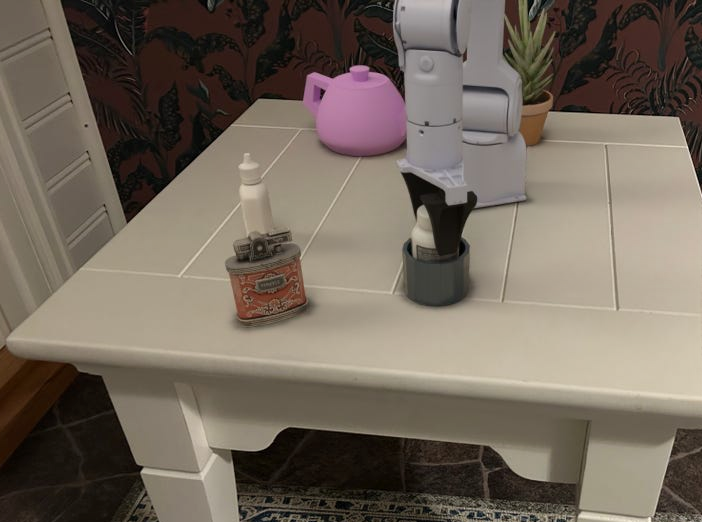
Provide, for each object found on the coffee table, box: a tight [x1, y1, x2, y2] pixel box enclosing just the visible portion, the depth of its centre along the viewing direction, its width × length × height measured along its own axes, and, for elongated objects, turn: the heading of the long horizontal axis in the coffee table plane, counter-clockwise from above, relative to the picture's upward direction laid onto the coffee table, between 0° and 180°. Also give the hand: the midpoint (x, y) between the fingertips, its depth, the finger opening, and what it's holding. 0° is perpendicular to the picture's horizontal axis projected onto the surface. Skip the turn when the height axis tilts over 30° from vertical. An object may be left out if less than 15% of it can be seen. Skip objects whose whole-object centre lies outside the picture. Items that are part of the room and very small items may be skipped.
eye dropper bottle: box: [238, 152, 275, 238], centre depth 92 cm, size 4×6×12 cm
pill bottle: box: [410, 205, 459, 263], centre depth 83 cm, size 5×5×10 cm
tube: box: [401, 236, 471, 307], centre depth 85 cm, size 8×8×6 cm
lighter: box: [224, 227, 310, 328], centre depth 79 cm, size 8×3×10 cm, turn 117°
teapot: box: [302, 64, 407, 157], centre depth 119 cm, size 22×16×12 cm
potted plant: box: [502, 0, 556, 147], centre depth 116 cm, size 10×10×25 cm
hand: (436, 237), depth 82 cm, fingers open, 7 cm apart
